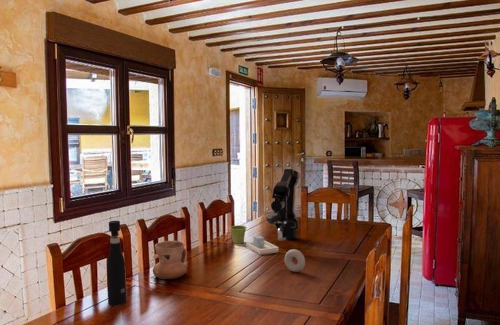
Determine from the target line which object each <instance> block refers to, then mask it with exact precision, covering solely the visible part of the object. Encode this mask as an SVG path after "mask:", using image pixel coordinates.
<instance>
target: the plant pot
mask: <svg viewBox="0 0 500 325" xmlns="http://www.w3.org/2000/svg"><path fill="white" fill-rule="evenodd" d="M229 229H230V231H231V238H232V243H233V244H235V245H237V244H238V245H239V244H244V243H245V242H244V241H245V236H246V235H245V234H246V230H247V226H245V225H232V226H230V227H229Z"/></svg>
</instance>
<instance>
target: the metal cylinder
mask: <svg viewBox="0 0 500 325" xmlns="http://www.w3.org/2000/svg"><path fill="white" fill-rule="evenodd" d="M286 240H287V239H286V238H283V236H282V229H281V228H278V232H277V241H280V242H281V241H286Z"/></svg>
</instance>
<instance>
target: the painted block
mask: <svg viewBox="0 0 500 325" xmlns="http://www.w3.org/2000/svg"><path fill="white" fill-rule="evenodd" d="M264 240H265V238H264V236H261V235H258V236H253V242H254V246H255V247H257V248H260V247H264Z"/></svg>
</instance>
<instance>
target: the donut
mask: <svg viewBox="0 0 500 325" xmlns="http://www.w3.org/2000/svg"><path fill="white" fill-rule="evenodd" d="M293 258H295V259H296V261H297V263H294V262H293ZM284 264H285V267H287V269H288V270H289V271H291V272H294V273H298V272H301V271H302V270H304V268H305V265H306V258H305V255H304V254H303V253H302V252H301V251H300V250H298V249H295V248H293V249H289V250H288V251H287V252H286V253H285V255H284Z"/></svg>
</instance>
